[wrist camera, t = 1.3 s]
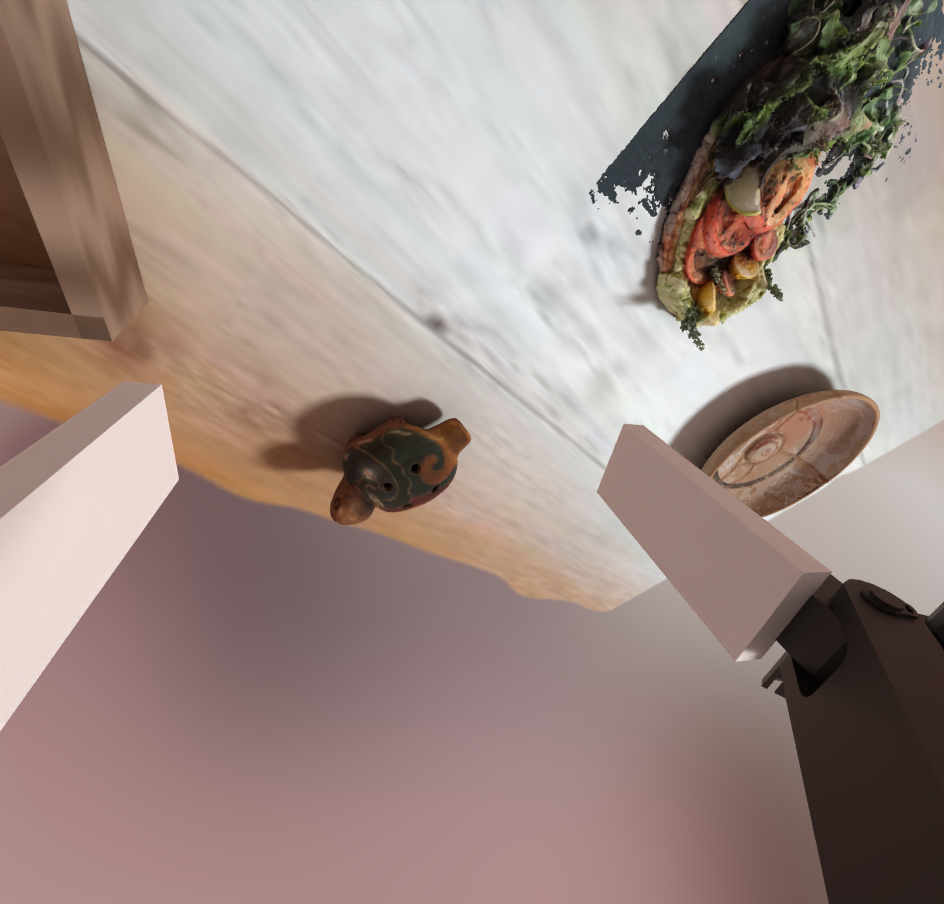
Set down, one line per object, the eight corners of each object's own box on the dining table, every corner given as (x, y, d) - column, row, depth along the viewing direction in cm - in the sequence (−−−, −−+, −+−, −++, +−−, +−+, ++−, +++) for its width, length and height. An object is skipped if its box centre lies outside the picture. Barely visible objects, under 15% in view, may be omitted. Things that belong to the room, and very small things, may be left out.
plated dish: (662, 404, 48) (700, 443, 43) (491, 250, 33) (516, 281, 28) (1008, 106, 34) (1130, 109, 28) (989, -411, 19) (1245, -615, 13)
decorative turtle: (304, 451, 41) (297, 507, 35) (429, 369, 39) (446, 413, 33) (365, 503, 47) (369, 558, 41) (477, 434, 45) (498, 482, 39)
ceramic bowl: (651, 462, 54) (672, 489, 51) (831, 335, 46) (872, 357, 42) (709, 519, 68) (729, 544, 64) (856, 430, 59) (889, 453, 56)
